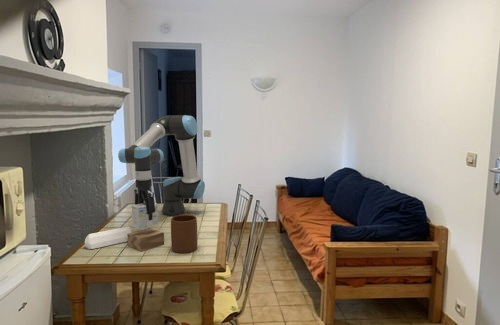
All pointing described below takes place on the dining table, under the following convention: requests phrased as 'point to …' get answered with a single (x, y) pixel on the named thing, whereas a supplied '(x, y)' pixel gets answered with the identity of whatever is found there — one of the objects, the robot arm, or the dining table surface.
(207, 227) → the dining table surface
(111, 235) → the crystal
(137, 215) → the light bulb box
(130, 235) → the walnut block
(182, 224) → the mug
